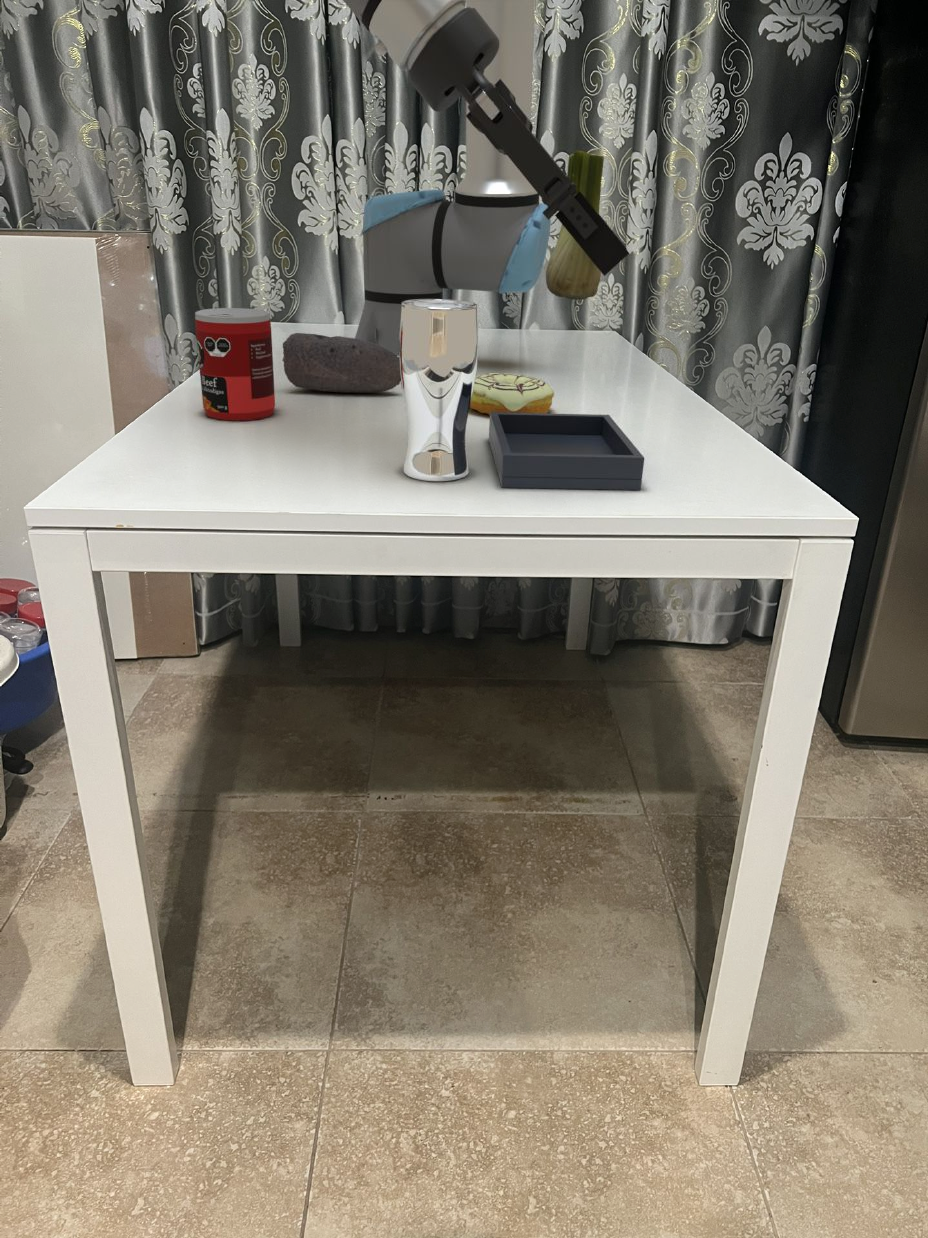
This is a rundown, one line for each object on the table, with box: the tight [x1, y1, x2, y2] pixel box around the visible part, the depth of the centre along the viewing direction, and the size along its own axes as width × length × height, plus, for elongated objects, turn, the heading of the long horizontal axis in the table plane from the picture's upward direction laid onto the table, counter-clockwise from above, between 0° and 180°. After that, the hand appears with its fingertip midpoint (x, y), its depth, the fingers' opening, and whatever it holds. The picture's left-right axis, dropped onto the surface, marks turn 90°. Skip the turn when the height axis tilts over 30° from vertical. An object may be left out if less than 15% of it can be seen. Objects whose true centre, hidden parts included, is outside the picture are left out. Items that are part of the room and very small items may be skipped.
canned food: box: [194, 307, 276, 422], centre depth 101 cm, size 8×8×11 cm
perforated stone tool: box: [281, 332, 401, 394], centre depth 114 cm, size 15×5×7 cm, turn 84°
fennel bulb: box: [545, 150, 605, 301], centre depth 80 cm, size 6×5×12 cm
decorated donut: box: [470, 372, 555, 416], centre depth 108 cm, size 10×11×4 cm
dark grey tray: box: [488, 412, 645, 491], centre depth 88 cm, size 17×13×3 cm
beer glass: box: [399, 298, 479, 482], centre depth 81 cm, size 7×7×15 cm
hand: (615, 261), depth 80 cm, fingers closed on fennel bulb, 6 cm apart
